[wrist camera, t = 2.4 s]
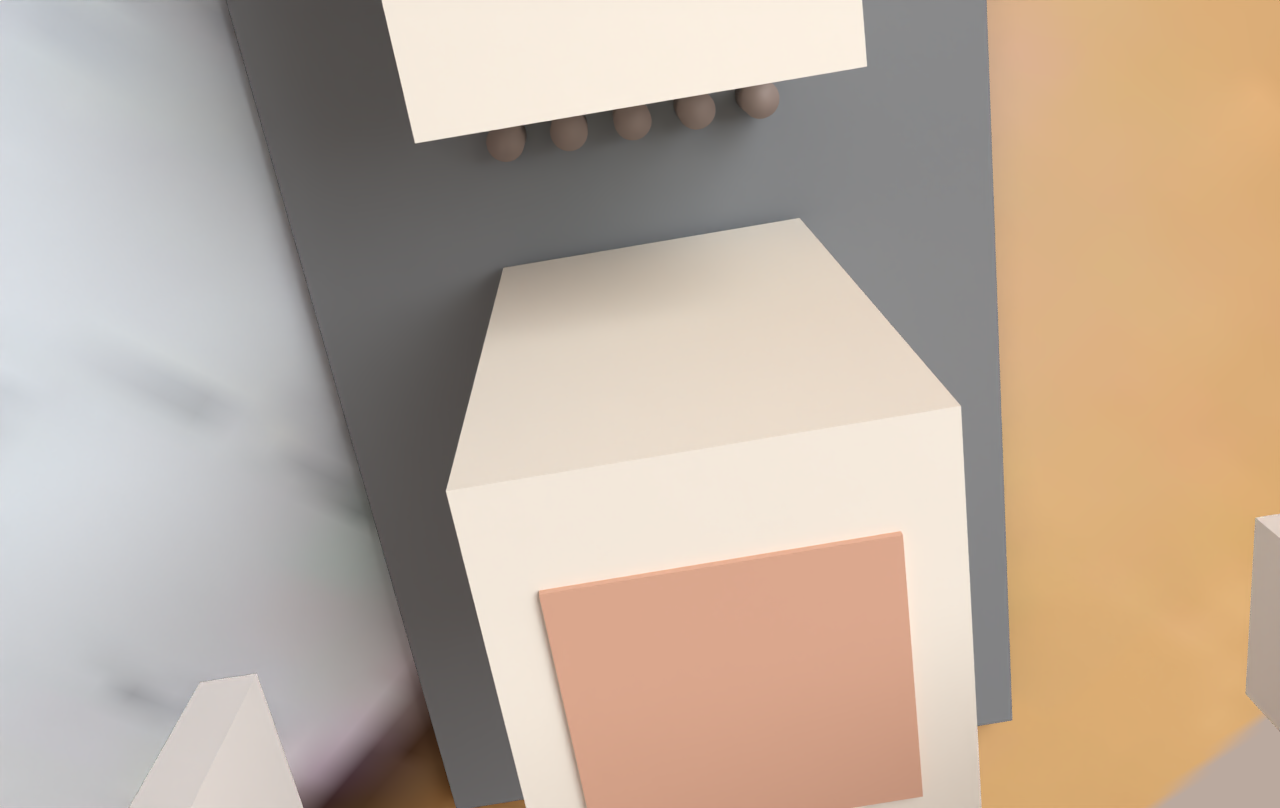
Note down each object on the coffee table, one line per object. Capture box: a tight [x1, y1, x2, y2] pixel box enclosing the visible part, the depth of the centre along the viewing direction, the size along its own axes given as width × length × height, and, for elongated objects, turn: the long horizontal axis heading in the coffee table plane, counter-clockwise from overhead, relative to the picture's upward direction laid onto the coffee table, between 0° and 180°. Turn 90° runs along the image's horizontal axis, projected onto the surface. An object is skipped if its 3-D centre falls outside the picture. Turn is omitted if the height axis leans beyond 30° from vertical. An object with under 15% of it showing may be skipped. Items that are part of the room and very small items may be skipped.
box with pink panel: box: [446, 218, 981, 808], centre depth 18 cm, size 6×7×10 cm
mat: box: [226, 0, 1012, 808], centre depth 22 cm, size 14×29×1 cm, turn 9°
